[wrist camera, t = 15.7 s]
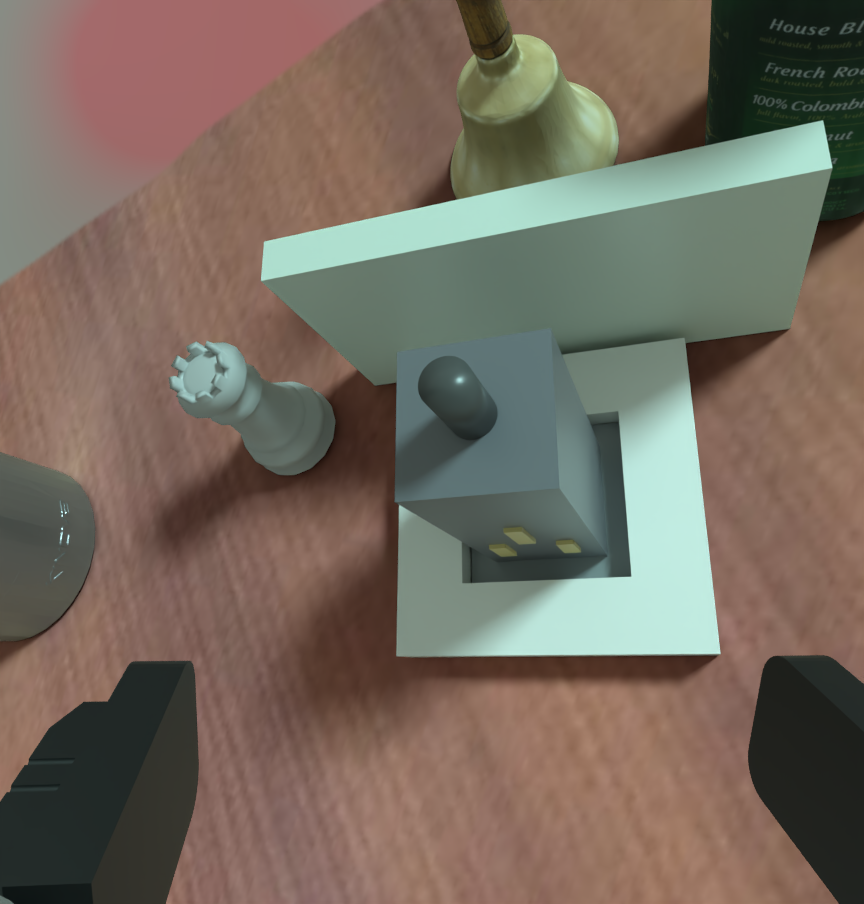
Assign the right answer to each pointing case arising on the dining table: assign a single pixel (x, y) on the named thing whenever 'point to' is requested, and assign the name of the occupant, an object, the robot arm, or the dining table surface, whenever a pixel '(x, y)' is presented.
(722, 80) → the coffee jar
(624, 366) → the socket
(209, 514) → the dining table surface
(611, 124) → the hand bell
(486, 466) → the plug
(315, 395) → the rook chess piece
